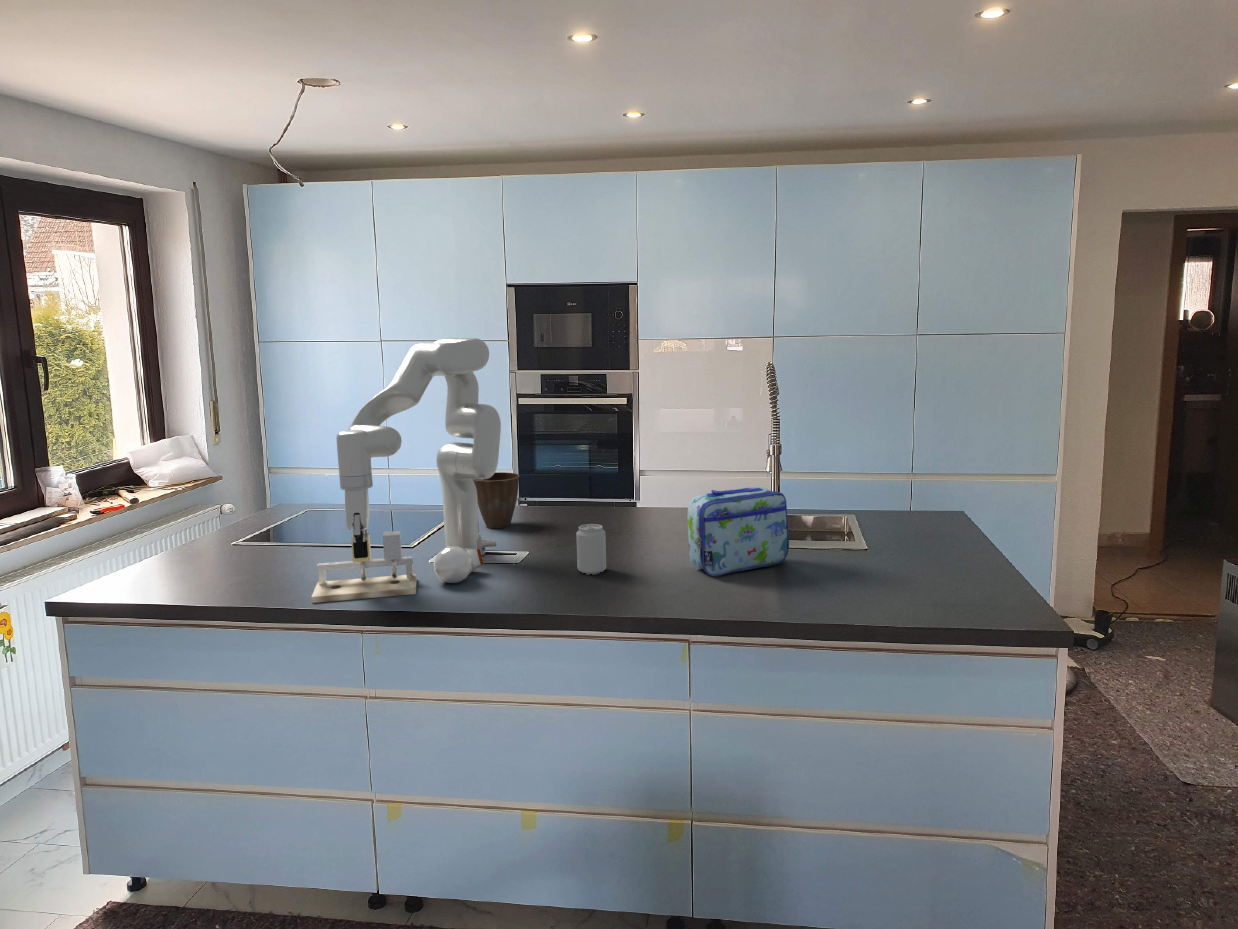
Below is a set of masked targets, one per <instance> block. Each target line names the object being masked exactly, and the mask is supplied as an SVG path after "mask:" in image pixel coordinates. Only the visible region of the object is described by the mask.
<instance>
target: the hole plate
mask: <svg viewBox="0 0 1238 929" xmlns="http://www.w3.org/2000/svg"><path fill="white" fill-rule="evenodd" d="M326 582H327V583H326V585H319V581H317V582H316V585H315V587H314V589H313V592H312V594H311V597H310V598H311V603H312V604H315V603H327V602H328V603H329V602H337V601H339V602H340V601H352V600H362V599H372V598H374V599H375V598H384V597H385V598H386V597H394V596H395V597H396V596H407V595H408V596H409V595H416V593H417V573H413V578H407V574H401V575H399V574H397V578H395V579H394V578H393V577H392V575H387V576H386V575H385V576H375V577H366V580H365V581H362V580H361V577H360V578H352V579H351V578H349V579H336V580H326Z"/></svg>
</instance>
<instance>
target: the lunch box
mask: <svg viewBox="0 0 1238 929" xmlns="http://www.w3.org/2000/svg"><path fill="white" fill-rule="evenodd" d="M687 535H688V536H687V537H688V554H689V560H690V563H691V564H692V565H693V566H694V567H697V568H700V569H702V570H703V572H704V573H706V574H708V575H709V576H711V577H720V576H723V575H726V574H730V573H737V572H743V571H748V570H754V569H759V568H763V567H770V566H773V565H774V566H775V565H779V564H781V563H784V561H785V560H786V558H787V556H788V554H789V550H790V532H789V518H788V507H787V498H786V496H785V494H784V493H782V492H780V491H775V490H774V491H773V490H771V489H768V488H765V487H757V486H755V487H742V488H741V487H740V488H733V489H726V490H716V489H715V490H714V489H711V492H708V493H702V494H699V495H696V496H695V497H694V498H692V499H691V500H690V501H689V504H688V507H687Z"/></svg>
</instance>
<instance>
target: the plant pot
mask: <svg viewBox="0 0 1238 929" xmlns="http://www.w3.org/2000/svg"><path fill="white" fill-rule="evenodd" d="M472 480H473V482H474V484H475V486H476V489H477V498H478V499H477V500H478V511H479V512H480V516H481V517H482V520H483V522H484V524H485V526H486V528H489V529H504V528H508V527H509V526H510V525H511V523H512V520H513V516H514V512H515V508H516V504H517V500H518V493H519V485H520V474H519V473H514V472H505V471H504V472H503V471H501V472H499V471H498V472H495V473H494V475H493V476H492V477H490V478H488V479H484V480H481V479H472Z"/></svg>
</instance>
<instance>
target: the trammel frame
mask: <svg viewBox="0 0 1238 929" xmlns="http://www.w3.org/2000/svg"><path fill="white" fill-rule="evenodd" d="M382 541H383V542H382V544H383V545H382V546H383V557H384V558H383V557H382V558H373V559H372V558H371V560H370V561H365V569H368V568H379V567H380V568H381V567H391V576H392V577H393V578H394V579H395V578H397V575H398V571H397V570H398V568H397V566H404V565H405V570H406V571H405V572H406V574H405V575H407V578H413V574H414V570H413V568H414V567H413V565H414V557H413V556H412V555H410V556H402V555H403V551H402V537H401V530H395V531H394V530H393V531H384V532H383V533H382ZM354 569H357V570H358V569H360V562H353V560H345V561H334V562H333V561H332V562H331V561H330V562H320V563H317V564H316V572H317V576H318V582H319V585H326V583H327V582H326V581H327V572H328V571H329V572H330V571H341V570H342V571H343V570H354Z"/></svg>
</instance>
